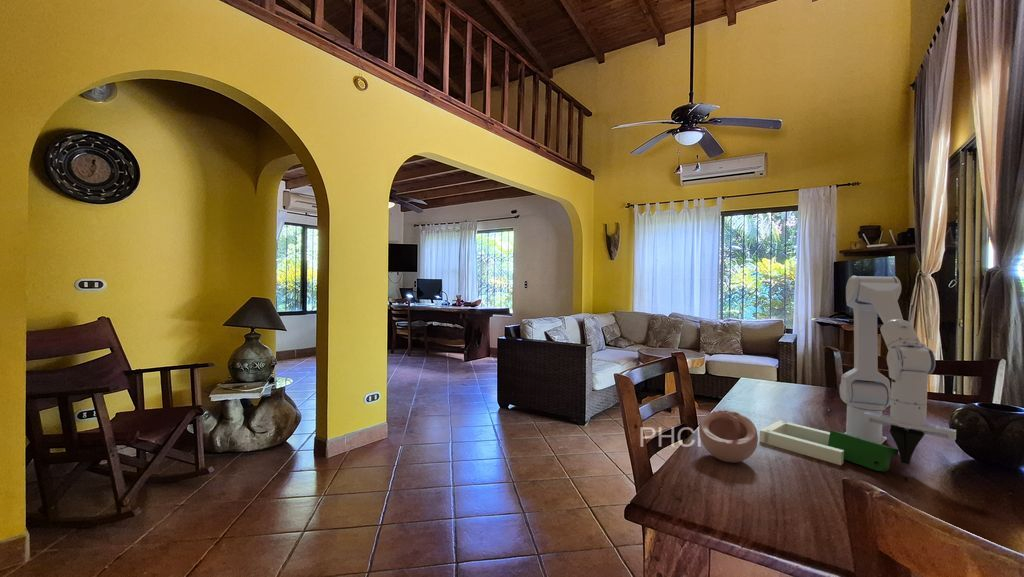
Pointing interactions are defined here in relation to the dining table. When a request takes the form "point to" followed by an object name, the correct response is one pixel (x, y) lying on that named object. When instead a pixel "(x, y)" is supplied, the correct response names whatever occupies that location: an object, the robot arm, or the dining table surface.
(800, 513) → the dining table surface
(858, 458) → the dark green block
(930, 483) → the dining table surface
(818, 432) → the bracket
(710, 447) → the pink round bowl
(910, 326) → the robot arm
